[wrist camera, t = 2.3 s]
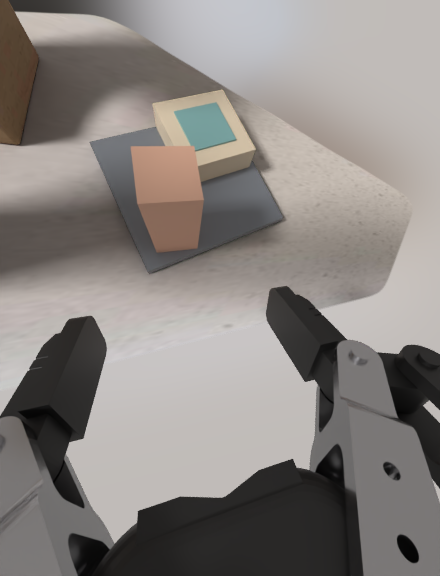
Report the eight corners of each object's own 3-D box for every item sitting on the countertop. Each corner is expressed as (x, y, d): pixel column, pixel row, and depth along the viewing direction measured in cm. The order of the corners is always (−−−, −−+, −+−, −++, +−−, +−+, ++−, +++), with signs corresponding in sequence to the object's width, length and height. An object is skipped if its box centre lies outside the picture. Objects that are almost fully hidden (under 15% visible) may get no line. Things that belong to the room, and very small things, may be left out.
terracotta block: (197, 248, 25) (203, 200, 16) (156, 252, 24) (137, 203, 15) (191, 212, 26) (194, 145, 17) (152, 215, 25) (130, 146, 16)
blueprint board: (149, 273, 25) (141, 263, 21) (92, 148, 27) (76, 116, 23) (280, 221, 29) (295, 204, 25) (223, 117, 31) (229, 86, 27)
